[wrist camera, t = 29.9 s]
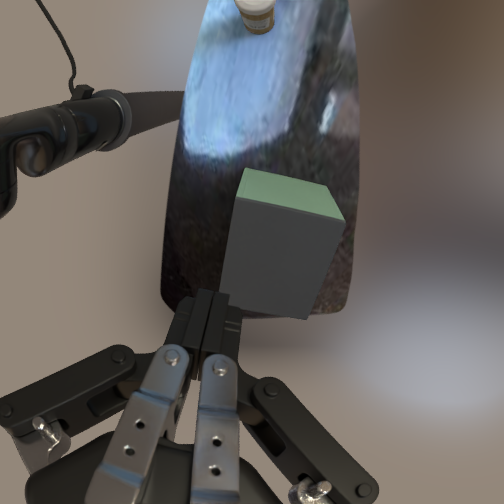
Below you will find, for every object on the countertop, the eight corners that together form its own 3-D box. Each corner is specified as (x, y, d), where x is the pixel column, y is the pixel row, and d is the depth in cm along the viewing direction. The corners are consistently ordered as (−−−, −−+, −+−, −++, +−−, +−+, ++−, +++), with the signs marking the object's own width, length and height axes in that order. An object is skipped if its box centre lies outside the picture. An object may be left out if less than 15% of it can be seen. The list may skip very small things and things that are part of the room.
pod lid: (306, 316, 43) (306, 320, 42) (217, 300, 42) (216, 304, 41) (345, 220, 34) (346, 223, 33) (235, 196, 33) (235, 198, 33)
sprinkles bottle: (278, 15, 31) (282, -14, 20) (267, 39, 34) (266, 16, 22) (250, 6, 31) (242, -26, 19) (238, 29, 33) (226, 4, 21)
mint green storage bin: (301, 263, 54) (308, 312, 42) (229, 249, 53) (218, 296, 41) (326, 186, 45) (345, 220, 34) (244, 167, 45) (235, 195, 33)
